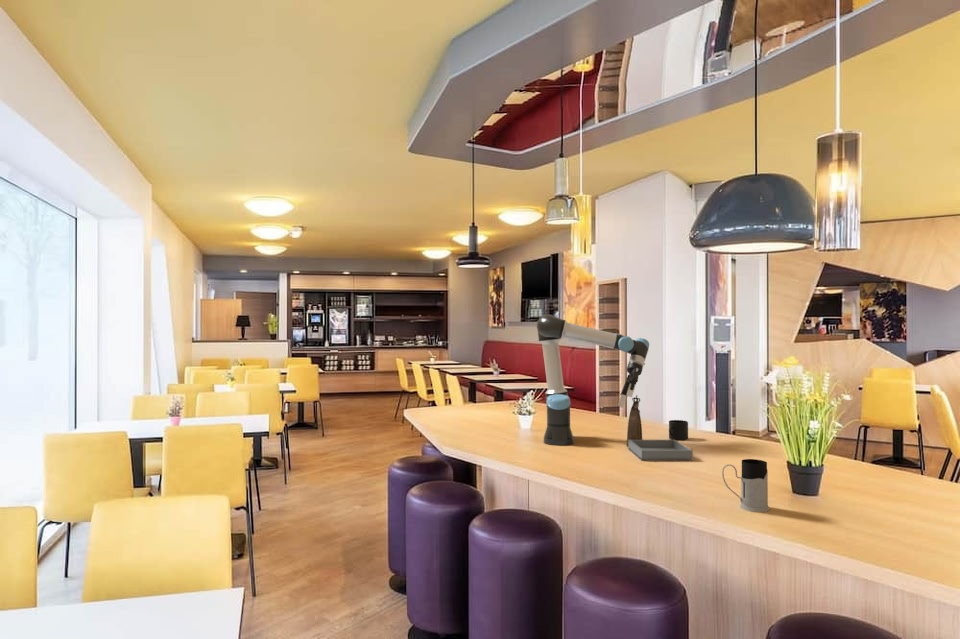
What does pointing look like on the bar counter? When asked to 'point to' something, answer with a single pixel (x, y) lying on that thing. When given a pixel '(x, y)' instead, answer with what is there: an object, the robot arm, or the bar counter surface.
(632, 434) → the statue
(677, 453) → the box
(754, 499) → the glass holder
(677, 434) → the mug
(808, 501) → the bar counter surface
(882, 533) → the bar counter surface
